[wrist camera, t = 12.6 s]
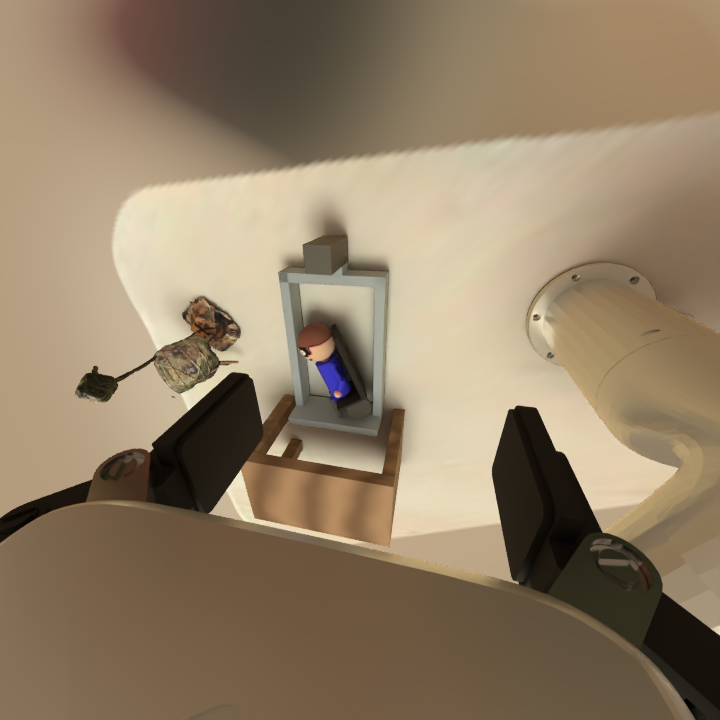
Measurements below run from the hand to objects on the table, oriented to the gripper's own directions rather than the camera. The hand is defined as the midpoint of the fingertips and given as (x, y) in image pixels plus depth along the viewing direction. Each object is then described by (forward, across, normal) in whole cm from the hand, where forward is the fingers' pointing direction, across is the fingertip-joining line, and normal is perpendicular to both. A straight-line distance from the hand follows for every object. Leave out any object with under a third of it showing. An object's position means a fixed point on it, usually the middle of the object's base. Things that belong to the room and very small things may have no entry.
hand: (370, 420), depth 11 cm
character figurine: (+31, +10, +15) cm, 35 cm away
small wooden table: (+30, +10, +29) cm, 43 cm away
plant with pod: (+31, +30, +12) cm, 44 cm away
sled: (+30, +10, +11) cm, 33 cm away
